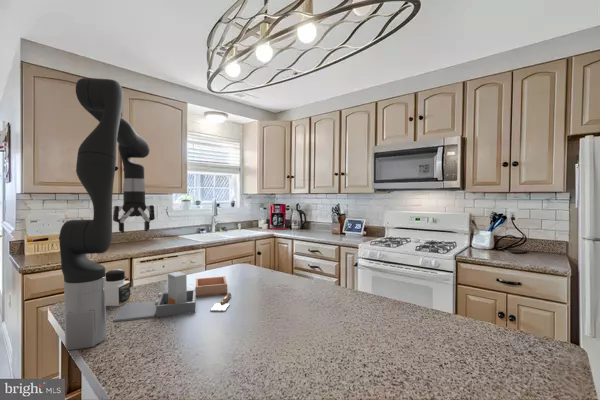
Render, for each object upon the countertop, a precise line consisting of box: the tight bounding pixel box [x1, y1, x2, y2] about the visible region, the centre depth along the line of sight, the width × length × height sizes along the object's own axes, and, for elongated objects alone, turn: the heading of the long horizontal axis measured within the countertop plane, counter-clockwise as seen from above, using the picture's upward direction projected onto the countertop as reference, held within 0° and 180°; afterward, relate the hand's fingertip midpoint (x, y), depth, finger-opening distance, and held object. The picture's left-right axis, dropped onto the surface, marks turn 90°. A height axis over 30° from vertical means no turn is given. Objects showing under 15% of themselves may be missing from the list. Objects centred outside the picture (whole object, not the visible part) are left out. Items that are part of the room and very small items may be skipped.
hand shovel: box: [209, 292, 232, 313], centre depth 112 cm, size 15×5×2 cm, turn 178°
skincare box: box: [167, 271, 188, 304], centre depth 109 cm, size 6×4×12 cm
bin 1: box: [112, 289, 197, 323], centre depth 107 cm, size 14×24×4 cm, turn 108°
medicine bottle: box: [105, 268, 131, 307], centre depth 113 cm, size 7×7×12 cm
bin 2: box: [195, 276, 228, 298], centre depth 127 cm, size 12×12×4 cm
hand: (134, 231), depth 120 cm, fingers open, 8 cm apart
